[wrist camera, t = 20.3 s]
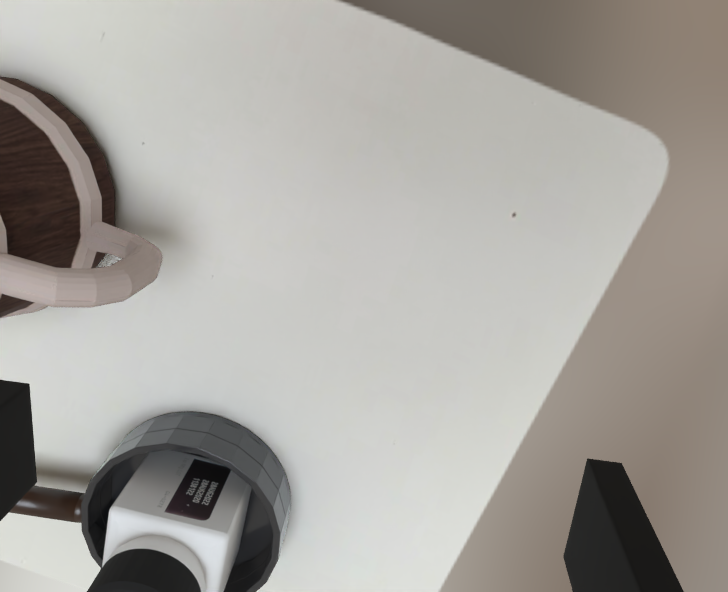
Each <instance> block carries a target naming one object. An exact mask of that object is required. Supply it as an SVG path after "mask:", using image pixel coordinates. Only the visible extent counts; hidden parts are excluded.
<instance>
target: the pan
mask: <svg viewBox="0 0 728 592" xmlns="http://www.w3.org/2000/svg"><path fill="white" fill-rule="evenodd" d="M161 450H173V451H180V452H184V453H188V454H192V455H196V456H201V457H205V458H208V459H210V460H213V461H215V462H217V463H220V464H222V465H224V466H226V467H228V468H229V469H230V470H232V471H233V472H234V473H235V474H236V475H238V476H239V477H240V478H241V479H243V480H244V481H245V482H246V483H248V484H249V485H250V486H251V487H252V489H251V493H250V498H249V503H248V508H247V512H246V517H245V522H244V527H243V532H242V536H241V541H240V546H239V551H238V553H237V556H236V559H235V562H234V564H233V567H232V570H231V573H230V575H229V578H228V581H227V584H226V586H225V589H224V592H256V591H257V590H258V589H259V588H261V587H262V586H263V585H264V584H265V583H266V582H267V580H268V578H269V577H270V575H271V573H272V571H273V569H274V567H275V565H276V563H277V561H278V558H279V555H280V551H281V548H282V544H283V541H284V537H285V533H286V530H287V526H288V520H289V514H290V508H291V495H290V488H289V484H288V480H287V477H286V474H285V472H284V470H283V468H282V466H281V464H280V462H279V461H278V459H277V457H276V456H275V455H274V453H273V452H272V451H271V450H270V448H269V447H268V446H267V445H266V444H265V443H264V442H263V441H262V440H261V439H260V438H258V437H257V436H256V435H254V434H253V433H252V432H251V431H249V430H247V429H246V428H244V427H242V426H241V425H239V424H237V423H235V422H232V421H230V420H228V419H225V418H222V417H219V416H216V415H211V414H206V413H199V412H176V413H170V414H165V415H162V416H158V417H155V418H153V419H150V420H148V421H146V422H144V423H142V424H141V425H139V426H138V427H136V428H135V429H134V430H132V431H131V432H130V433H129V434H128V435H127V436H126V437H125V438H124V439H123V441H122V442H121V443H120V444H119V445H118V446H117V447H116V448H115V449H114V450H113V452H112V453H111V454H110V456H109V457H108V458H107V459H106V461H105V462H104V463H103V464H102V466H101V467H100V468H99V470H98V471H97V472H96V473H95V475H94V476H93V477H92V479H91V480H90V482H89V485H88V488H87V490H86V493H85V495H84V498H83V501H82V503H81V517H82V532H83V535H84V538H85V540H86V543H87V545H88V548H89V551H90V553H91V556H92V557H93V559H94V560H95V561H96V562H97V564H98V565H99V566H100V567H101V569H102V563H103V555H104V547H105V539H106V531H107V523H108V515H109V510H110V508H111V506H112V505H113V503H114V502H115V500H116V499H117V498H118V496H119V495H120V493H121V492H122V490H123V489H124V487H125V486H126V485H127V483H128V482H129V480H130V479H131V477H132V476H133V474H134V473H135V471H136V470H137V469H138V467H139V466H140V464H141V463H142V461H143V460H144V458H145V457H146V456H147V454H148V453H149V452H154V451H161Z"/></svg>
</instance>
